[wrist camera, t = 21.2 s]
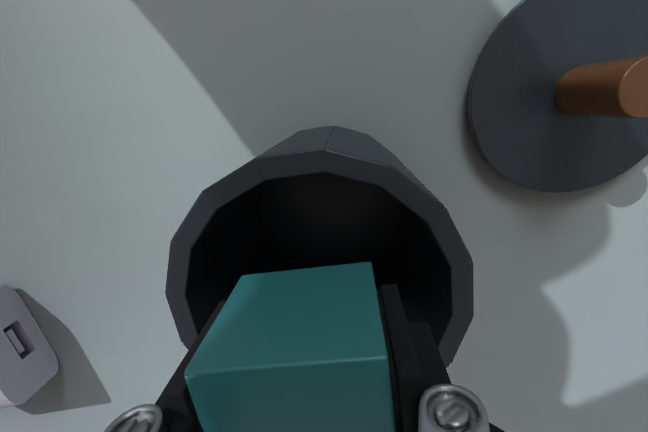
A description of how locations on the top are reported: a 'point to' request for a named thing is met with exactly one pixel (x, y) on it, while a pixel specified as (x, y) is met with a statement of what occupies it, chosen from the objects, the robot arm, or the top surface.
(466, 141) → the top surface
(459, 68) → the top surface
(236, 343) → the block
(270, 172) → the container
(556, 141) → the lid
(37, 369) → the charger
